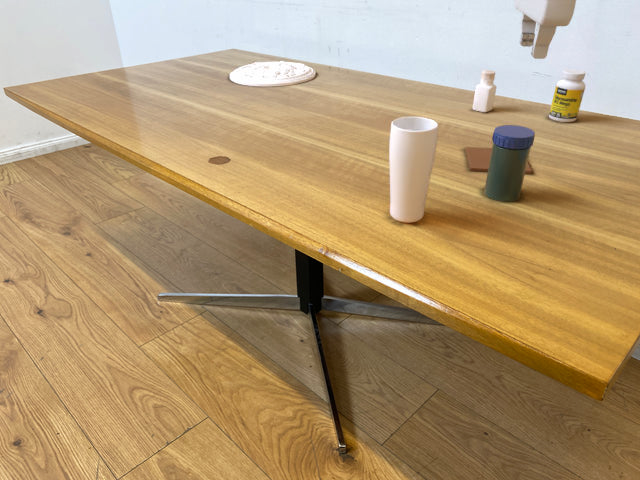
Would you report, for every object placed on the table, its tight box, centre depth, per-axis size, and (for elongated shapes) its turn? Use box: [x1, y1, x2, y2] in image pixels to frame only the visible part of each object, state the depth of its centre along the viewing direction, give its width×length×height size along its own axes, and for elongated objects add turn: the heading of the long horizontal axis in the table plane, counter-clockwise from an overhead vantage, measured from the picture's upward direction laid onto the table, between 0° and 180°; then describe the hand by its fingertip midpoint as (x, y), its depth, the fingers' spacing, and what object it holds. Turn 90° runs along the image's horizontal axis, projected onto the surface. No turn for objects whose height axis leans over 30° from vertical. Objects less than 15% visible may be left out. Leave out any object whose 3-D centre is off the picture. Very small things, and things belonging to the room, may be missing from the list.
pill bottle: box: [548, 68, 586, 123], centre depth 113 cm, size 6×6×11 cm
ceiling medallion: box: [229, 60, 317, 87], centre depth 158 cm, size 28×28×3 cm
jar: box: [483, 142, 532, 203], centre depth 80 cm, size 6×6×11 cm
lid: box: [491, 124, 536, 149], centre depth 77 cm, size 6×6×2 cm
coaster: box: [464, 146, 533, 175], centre depth 95 cm, size 11×11×1 cm
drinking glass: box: [388, 116, 439, 224], centre depth 73 cm, size 7×7×15 cm
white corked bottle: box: [472, 69, 497, 113], centre depth 121 cm, size 4×4×10 cm
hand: (531, 51), depth 70 cm, fingers open, 8 cm apart
